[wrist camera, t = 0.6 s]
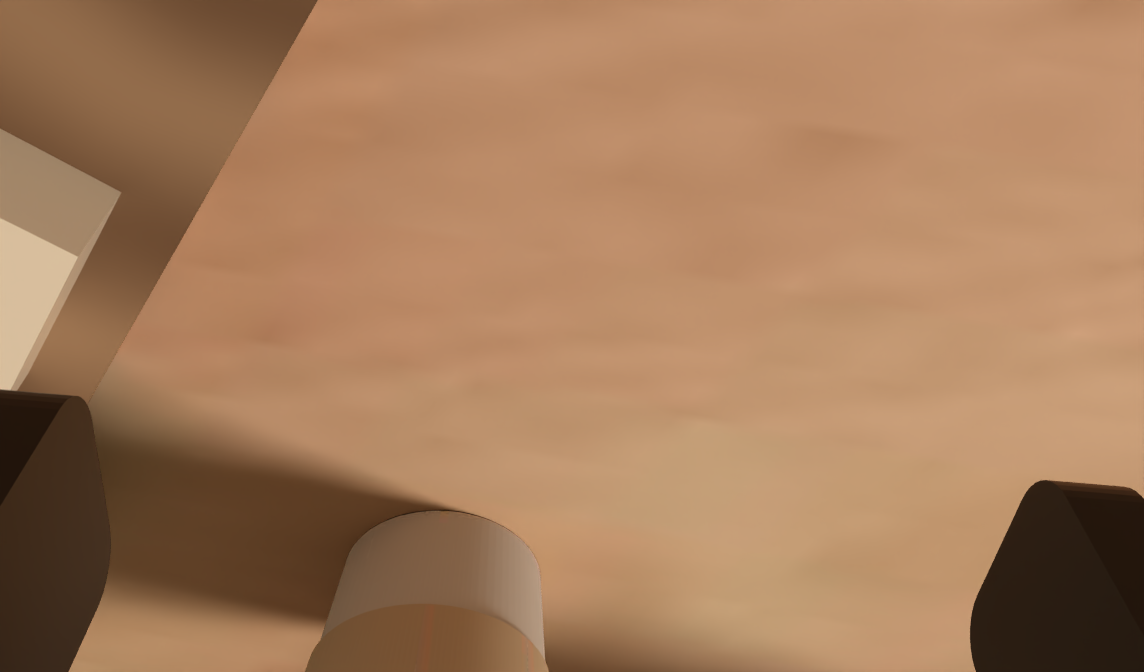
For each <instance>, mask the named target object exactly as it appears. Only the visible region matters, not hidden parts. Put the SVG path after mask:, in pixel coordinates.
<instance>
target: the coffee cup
mask: <svg viewBox="0 0 1144 672" xmlns="http://www.w3.org/2000/svg"><path fill="white" fill-rule="evenodd" d="M305 672H549V670H548V667H547V664H546V662H545V649H544V631H543V614H542V597H541V579H540V570H539V566H538V563H537V561H536V559H535V557H534V555H533V553H532V552H531V550H530V549H529V547H528V546H527V545H526V544H525V543H524V542H523V541H522V540H521V539H520V538H519V537H517V536H516V535H515V534H514V533H512V532H511V531H509V530H508V529H506V528H504V527H503V526H501V525H499V524H497V523H495V522H492V521H490V520H487V519H485V518H482V517H478V516H475V515H471V514H466V513H461V512H453V511H422V512H415V513H409V514H405V515H401V516H398V517H395V518H392V519H389V520H387V521H385V522H382V523H380V524H378V525H377V526H375V527H373V528H372V529H370V530H369V531H368V532H366V533H365V534H364V535H363V536H362V537H361V538H360V539H359V540H358V541H357V542H356V543H355V544H354V546H353V547H352V549H351V551H350V553H349V555H348V557H347V560H346V563H345V566H344V569H343V572H342V575H341V578H340V582H339V585H338V588H337V591H336V594H335V597H334V600H333V603H332V606H331V609H330V612H329V615H328V618H327V621H326V624H325V628H324V631H323V634H322V637H321V640H320V641H319V643H318V644H317V645H316V647H315V649H314V650H313V652H312V654H311V657H310V659H309V662H308V665H307V668H306V671H305Z"/></svg>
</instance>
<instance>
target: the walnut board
mask: <svg viewBox="0 0 1144 672" xmlns="http://www.w3.org/2000/svg"><path fill="white" fill-rule="evenodd" d="M316 2H317V0H0V129H2V130H4V131H6V132H8V133H10V134H11V135H13V136H15V137H17V138H19V139H21V140H23V141H25V142H27V143H29V144H30V145H32V146H34V147H36V148H38V149H40V150H42V151H44V152H46V153H48V154H49V155H51V156H53V157H55V158H57V159H59V160H61V161H63V162H65V163H67V164H68V165H70V166H72V167H74V168H76V169H78V170H80V171H82V172H84V173H86V174H87V175H89V176H91V177H93V178H95V179H97V180H99V181H101V182H103V183H105V184H106V185H108V186H110V187H112V188H114V189H116V190H118V191H120V192H121V194H120V196H119V198H118V200H117V202H116V204H115V206H114V208H113V210H112V212H111V214H110V216H109V217H108V219H107V221H106V223H105V225H104V227H103V229H102V231H101V233H100V235H99V237H98V239H97V241H96V243H95V245H94V247H93V249H92V251H91V252H90V254H89V256H88V258H87V260H86V262H85V264H84V266H83V268H82V270H81V272H80V274H79V276H78V278H77V280H76V282H75V284H74V285H73V287H72V289H71V291H70V293H69V295H68V297H67V299H66V301H65V303H64V305H63V307H62V309H61V311H60V313H59V315H58V317H57V318H56V320H55V322H54V324H53V326H52V328H51V330H50V332H49V334H48V336H47V338H46V340H45V342H44V344H43V346H42V348H41V350H40V352H39V353H38V355H37V357H36V359H35V361H34V363H33V365H32V367H31V369H30V371H29V373H28V374H27V376H26V378H25V379H24V381H23V382H22V384H21V385H20V387H19V389H18V390H17V391H26V392H38V393H50V394H61V395H73V396H79V397H81V398H82V399H84V400H85V402H86V404H88V402H89V401H90V399H91V397H92V395H93V394H94V392H95V390H96V388H97V387H98V385H99V383H100V381H101V380H102V378H103V376H104V374H105V373H106V371H107V369H108V367H109V366H110V364H111V362H112V360H113V359H114V357H115V355H116V353H117V352H118V350H119V348H120V346H121V345H122V343H123V341H124V339H125V337H126V336H127V334H128V332H129V330H130V329H131V327H132V325H133V323H134V322H135V320H136V318H137V316H138V315H139V313H140V311H141V309H142V308H143V306H144V304H145V302H146V301H147V299H148V297H149V295H150V294H151V292H152V290H153V288H154V287H155V285H156V283H157V281H158V280H159V278H160V276H161V274H162V273H163V271H164V269H165V267H166V266H167V264H168V262H169V260H170V258H171V257H172V255H173V253H174V251H175V250H176V248H177V246H178V244H179V243H180V241H181V239H182V237H183V236H184V234H185V232H186V230H187V229H188V227H189V225H190V223H191V222H192V220H193V218H194V216H195V215H196V213H197V211H198V209H199V208H200V206H201V204H202V202H203V201H204V199H205V197H206V195H207V194H208V192H209V190H210V188H211V187H212V185H213V183H214V181H215V180H216V178H217V176H218V174H219V172H220V171H221V169H222V167H223V165H224V164H225V162H226V160H227V158H228V157H229V155H230V153H231V151H232V150H233V148H234V146H235V144H236V143H237V141H238V139H239V137H240V136H241V134H242V132H243V130H244V129H245V127H246V125H247V123H248V122H249V120H250V118H251V116H252V115H253V113H254V111H255V109H256V108H257V106H258V104H259V102H260V101H261V99H262V97H263V95H264V94H265V92H266V90H267V88H268V86H269V85H270V83H271V81H272V79H273V78H274V76H275V74H276V72H277V71H278V69H279V67H280V65H281V64H282V62H283V60H284V58H285V57H286V55H287V53H288V51H289V50H290V48H291V46H292V44H293V43H294V41H295V39H296V37H297V36H298V34H299V32H300V30H301V29H302V27H303V25H304V23H305V22H306V20H307V18H308V16H309V15H310V13H311V11H312V9H313V7H314V6H315V4H316Z"/></svg>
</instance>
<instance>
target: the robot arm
mask: <svg viewBox="0 0 1144 672" xmlns="http://www.w3.org/2000/svg"><path fill="white" fill-rule="evenodd" d="M110 549H111V537H110V526H109V520H108V514H107V508H106V502H105V496H104V490H103V484H102V478H101V472H100V466H99V460H98V454H97V448H96V442H95V436H94V430H93V424H92V419H91V414H90V411H89V408H88V405H87V404H86V402H85V400H84V399H82V398H81V397H79V396H73V395H61V394H50V393H38V392H26V391H14V390H2V389H0V672H68V671H69V669H70V667H71V665H72V663H73V660H74V658H75V656H76V654H77V652H78V650H79V647H80V645H81V643H82V641H83V639H84V636H85V634H86V632H87V630H88V628H89V625H90V623H91V621H92V619H93V617H94V614H95V612H96V610H97V608H98V605H99V603H100V600H101V597H102V594H103V591H104V587H105V583H106V579H107V574H108V568H109V561H110ZM970 643H971V652H972V659H973V663H974V667H975V670H976V672H1144V499H1143V497H1142V496H1141V495H1140V494H1139V493H1137V492H1136V491H1135V490H1133V489H1131V488H1127V487H1120V486H1109V485H1097V484H1085V483H1073V482H1061V481H1049V480H1043V481H1039V482H1037V483H1035V484H1034V485H1032V486H1031V487H1030V488H1029V489H1028V491H1027V492H1026V494H1025V495H1024V497H1023V499H1022V501H1021V503H1020V505H1019V507H1018V510H1017V512H1016V514H1015V516H1014V518H1013V520H1012V522H1011V525H1010V527H1009V529H1008V531H1007V533H1006V535H1005V537H1004V540H1003V542H1002V544H1001V546H1000V548H999V550H998V552H997V554H996V557H995V559H994V561H993V563H992V565H991V567H990V569H989V572H988V574H987V576H986V578H985V580H984V582H983V584H982V587H981V589H980V591H979V593H978V595H977V598H976V600H975V603H974V607H973V610H972V616H971V626H970Z"/></svg>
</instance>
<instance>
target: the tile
mask: <svg viewBox="0 0 1144 672" xmlns="http://www.w3.org/2000/svg"><path fill="white" fill-rule="evenodd" d="M120 194H121V192H120V191H118V190H116V189H114V188H112V187H110V186H108V185H106V184H105V183H103V182H101V181H99V180H97V179H95V178H93V177H91V176H89V175H87V174H86V173H84V172H82V171H80V170H78V169H76V168H74V167H72V166H70V165H68V164H67V163H65V162H63V161H61V160H59V159H57V158H55V157H53V156H51V155H49V154H48V153H46V152H44V151H42V150H40V149H38V148H36V147H34V146H32V145H30V144H29V143H27V142H25V141H23V140H21V139H19V138H17V137H15V136H13V135H11V134H10V133H8V132H6V131H4V130H2V129H0V389H2V390H14V391H17V390H18V389H19V387H20V385H21V384H22V382H23V381H24V379H25V378H26V376H27V374H28V373H29V371H30V369H31V367H32V365H33V363H34V361H35V359H36V357H37V355H38V353H39V352H40V350H41V348H42V346H43V344H44V342H45V340H46V338H47V336H48V334H49V332H50V330H51V328H52V326H53V324H54V322H55V320H56V318H57V317H58V315H59V313H60V311H61V309H62V307H63V305H64V303H65V301H66V299H67V297H68V295H69V293H70V291H71V289H72V287H73V285H74V284H75V282H76V280H77V278H78V276H79V274H80V272H81V270H82V268H83V266H84V264H85V262H86V260H87V258H88V256H89V254H90V252H91V251H92V249H93V247H94V245H95V243H96V241H97V239H98V237H99V235H100V233H101V231H102V229H103V227H104V225H105V223H106V221H107V219H108V217H109V216H110V214H111V212H112V210H113V208H114V206H115V204H116V202H117V200H118V198H119V196H120Z"/></svg>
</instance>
